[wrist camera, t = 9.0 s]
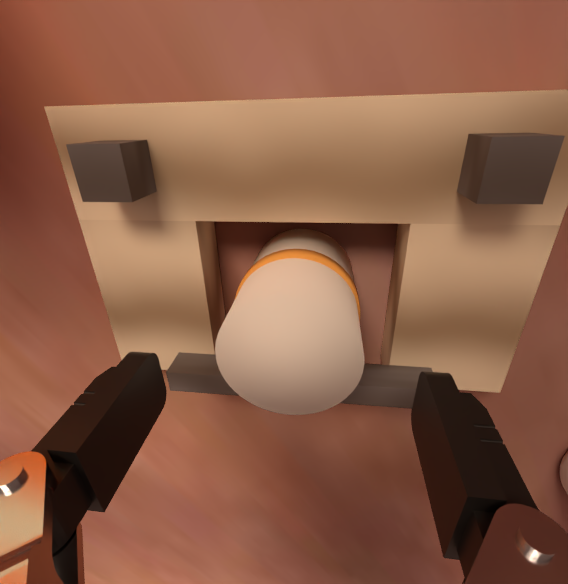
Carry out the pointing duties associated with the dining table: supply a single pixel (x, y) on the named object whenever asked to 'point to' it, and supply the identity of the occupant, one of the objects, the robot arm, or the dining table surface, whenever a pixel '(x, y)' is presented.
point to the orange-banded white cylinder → (294, 327)
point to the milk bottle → (564, 472)
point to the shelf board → (325, 217)
